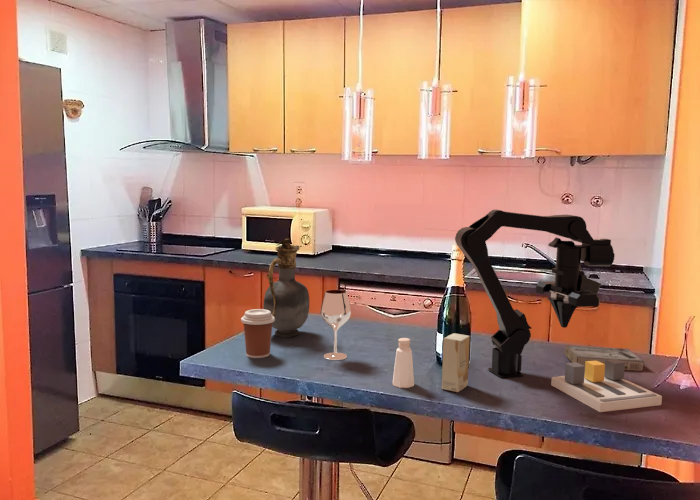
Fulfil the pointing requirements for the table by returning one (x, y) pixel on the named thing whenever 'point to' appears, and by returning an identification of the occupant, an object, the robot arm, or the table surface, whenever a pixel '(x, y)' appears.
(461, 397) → the table surface
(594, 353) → the box
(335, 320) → the wineglass
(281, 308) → the pitcher
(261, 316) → the coffee cup
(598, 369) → the block
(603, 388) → the panel
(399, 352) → the pepper shaker
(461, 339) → the skincare box
